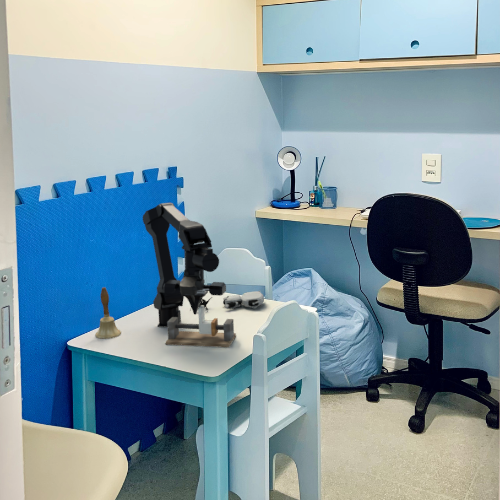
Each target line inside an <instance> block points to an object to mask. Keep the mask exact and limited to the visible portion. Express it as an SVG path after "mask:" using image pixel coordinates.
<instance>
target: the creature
mask: <svg viewBox="0 0 500 500" xmlns="http://www.w3.org/2000/svg"><path fill="white" fill-rule="evenodd" d="M212 298H213V297H212V296H211V297H210V298H209V299H208V300H206V299H204V298H202V300H201V302H200V305H199V307H200V306H201V305H204V309H205V311H206V312H205V314H207V313H208V312H209V309H208V306H207V304H209V302H210V300H212ZM191 310H192V308H191V307H190V310H189V311H191Z"/></svg>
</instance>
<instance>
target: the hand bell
mask: <svg viewBox="0 0 500 500" xmlns="http://www.w3.org/2000/svg"><path fill="white" fill-rule="evenodd" d="M100 300H101V301H100V302H101V305H102V308H103V317H101V318H100V320H99V327H98V330H97V332H95V335H94V336H95V338H96V339H100V340H107V339H108V340H111V339H115V338H117V337H119V336H121V335H122V331H121V330H120V329H118V327H117V326H116V322H115V319H114V317H113V316H110V312H109V311H110V310H109V303H110V295H109V293H108V290H107V288H106V286H105V287H104V286H103V287H101V292H100Z"/></svg>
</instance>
